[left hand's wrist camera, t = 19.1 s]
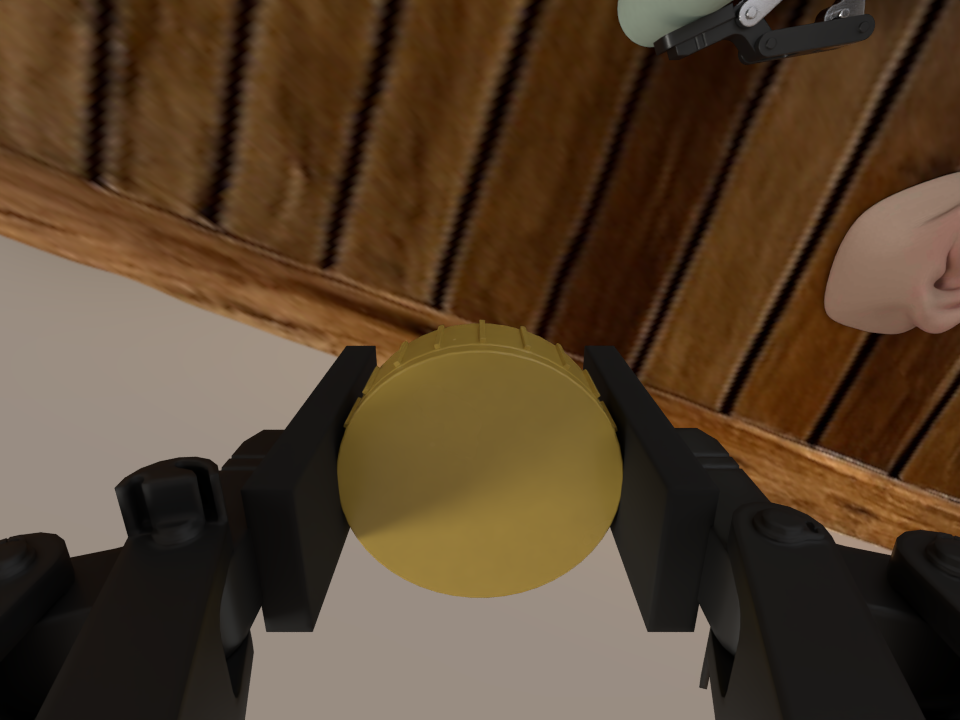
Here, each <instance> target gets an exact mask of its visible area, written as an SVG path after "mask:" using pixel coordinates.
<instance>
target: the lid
mask: <svg viewBox="0 0 960 720" xmlns="http://www.w3.org/2000/svg"><path fill="white" fill-rule="evenodd" d="M362 393H364V394H363V396H362V398H359V397H358V398H357V400H356V402H355V404H354V406H353V408H352V410H351V412H350V414H349V416H348V417H347V419H346V421H345V423H344V426H343V427H344V428H346V430H345V433H344V435H343V438H342V441H341V443H340V448H339V453H338V458H337V476H338V486H339V495H340V503H341V507H342V510H343V512H344V515H345V517H346V519H347V522H348V524H349V526H350V527H351V529H352V531H353V532H354V534H355V536H356V537H357V539H358V540H359V541H360V542H361V544H362V545H363V546H364V547H365V549H366V550H367V551H368V552H369V553H370V554H371V555H372V556H373V557H374V558H375V559H376V560H377V561H378V562H380V563H381V564H382V565H384V566H385V567H386V568H387V569H389V570H390V571H391V572H393V573H395V574H396V575H398V576H400V577H402V578H403V579H405V580H407V581H409V582H411V583H413V584H416V585H418V586H420V587H423V588H426V589H429V590H432V591H435V592H439V593H443V594H448V595H453V596H461V597H470V598H489V597H500V596H507V595H512V594H517V593H522V592H525V591H528V590H531V589H534V588H537V587H540V586H542V585H544V584H547V583H549V582H551V581H553V580H555V579H557V578H558V577H560V576H562V575H564V574H565V573H567V572H568V571H570V570H571V569H573V568H574V567H575V566H577V565H578V564H579V563H580V562H582V561H583V560H584V559H585V558H586V557H587V556H588V555H589V554H590V553H591V552H592V551H593V550H594V549H595V547H596V546H597V545H598V544H599V542H600V541H601V540H602V539H603V537H604V535H605V534H606V532H607V531H608V529H609V527H610V526H611V524H612V521H613V519H614V517H615V515H616V512H617V510H618V506H619V502H620V498H621V489H622V480H623V458H622V453H621V448H620V444H619V441H618V438H617V435H616V433H615V432H617V431H618V429H617V427H616V425H615V423H614V421H613V419H612V417H611V415H610V413H609V411H608V409H607V407H606V405H605V403H604V402H603V401H601V402H600V400H599V398H598V397H600V394H599V392H598V390H597V388H596V386H595V384H594V382H593V380H592V378H591V377H590V375H589V373H588V371H587V370H586V369H585V370H583V371H582V370H581V369H580V367H579V366H578V365H577V364H576V363H575V362H574V361H573V360H572V359H571V358H570V357H569V356H568V355H567V354H565V353H564V351H563V348H562V346H561V345H560V344H558V343H557V344H556V345H553V344H551V343H550V342H548V341H546V340H544V339H543V338H541V337H539V336H536V335H534V334H531V333H529V332H527V331H526V327H523V326H521V327H520V329H517V328H513V327H509V326H503V325H496V324H485V320H480V324H464V325H456V326H451V327H447V328H444V325H441V326H439V327H438V330H436V331H434V332H431V333H429V334H426V335H423V336H421V337H419V338H417V339H416V340H414V341H412V342H410V343H408V342H407V341H405V342H403V343H402V345H401V347H400V350H399V351H397V352H396V353H395V354H393V355H392V356H391V357H390V358H389V359H388V360H387V361H386V362H385V363H384V364H383V365H382V366H381V367H380V368H379V367H378V366H376V367H375V369H374V370H373V372H372V374H371V376H370V378H369V380H368V382H367V384H366V386H365V388H364V390H363V392H362Z"/></svg>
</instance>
